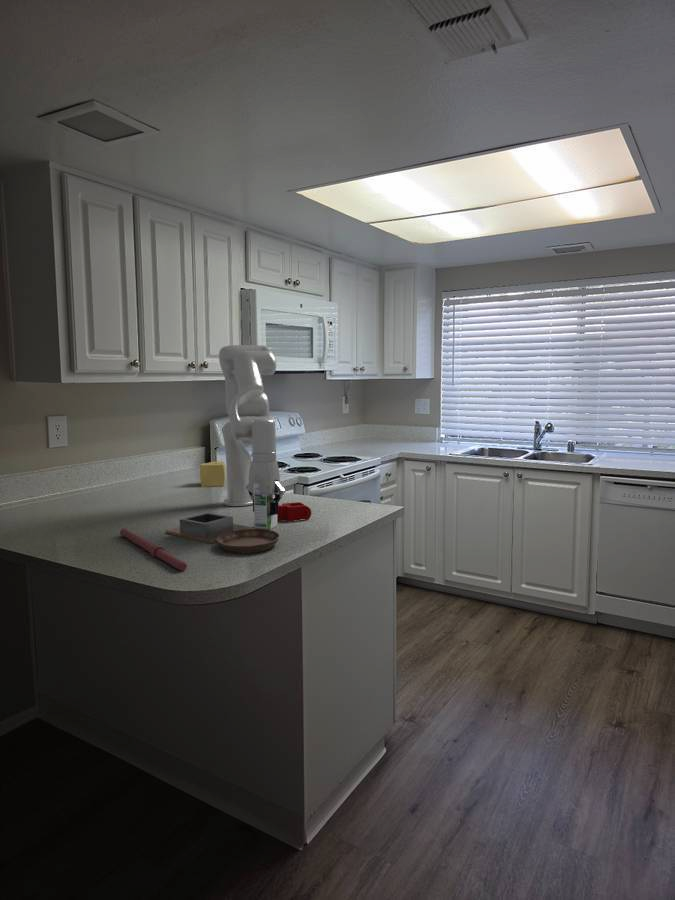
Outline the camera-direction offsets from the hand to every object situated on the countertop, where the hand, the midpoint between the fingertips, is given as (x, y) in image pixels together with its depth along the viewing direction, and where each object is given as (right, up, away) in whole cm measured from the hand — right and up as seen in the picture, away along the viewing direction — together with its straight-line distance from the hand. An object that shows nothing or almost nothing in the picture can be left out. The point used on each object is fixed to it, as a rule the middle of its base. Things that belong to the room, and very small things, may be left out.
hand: (265, 512), depth 198 cm
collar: (-16, -6, -5) cm, 18 cm away
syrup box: (0, -5, +1) cm, 5 cm away
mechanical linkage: (+5, -4, +11) cm, 13 cm away
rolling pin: (-29, -9, -26) cm, 40 cm away
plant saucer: (-2, -8, -21) cm, 23 cm away
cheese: (-33, +4, +80) cm, 87 cm away
